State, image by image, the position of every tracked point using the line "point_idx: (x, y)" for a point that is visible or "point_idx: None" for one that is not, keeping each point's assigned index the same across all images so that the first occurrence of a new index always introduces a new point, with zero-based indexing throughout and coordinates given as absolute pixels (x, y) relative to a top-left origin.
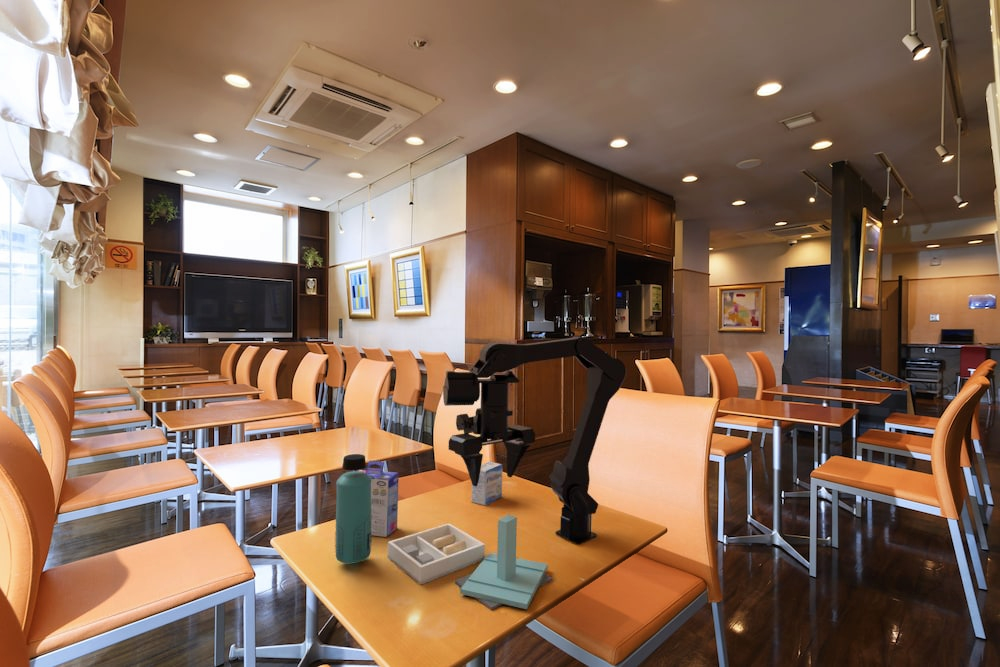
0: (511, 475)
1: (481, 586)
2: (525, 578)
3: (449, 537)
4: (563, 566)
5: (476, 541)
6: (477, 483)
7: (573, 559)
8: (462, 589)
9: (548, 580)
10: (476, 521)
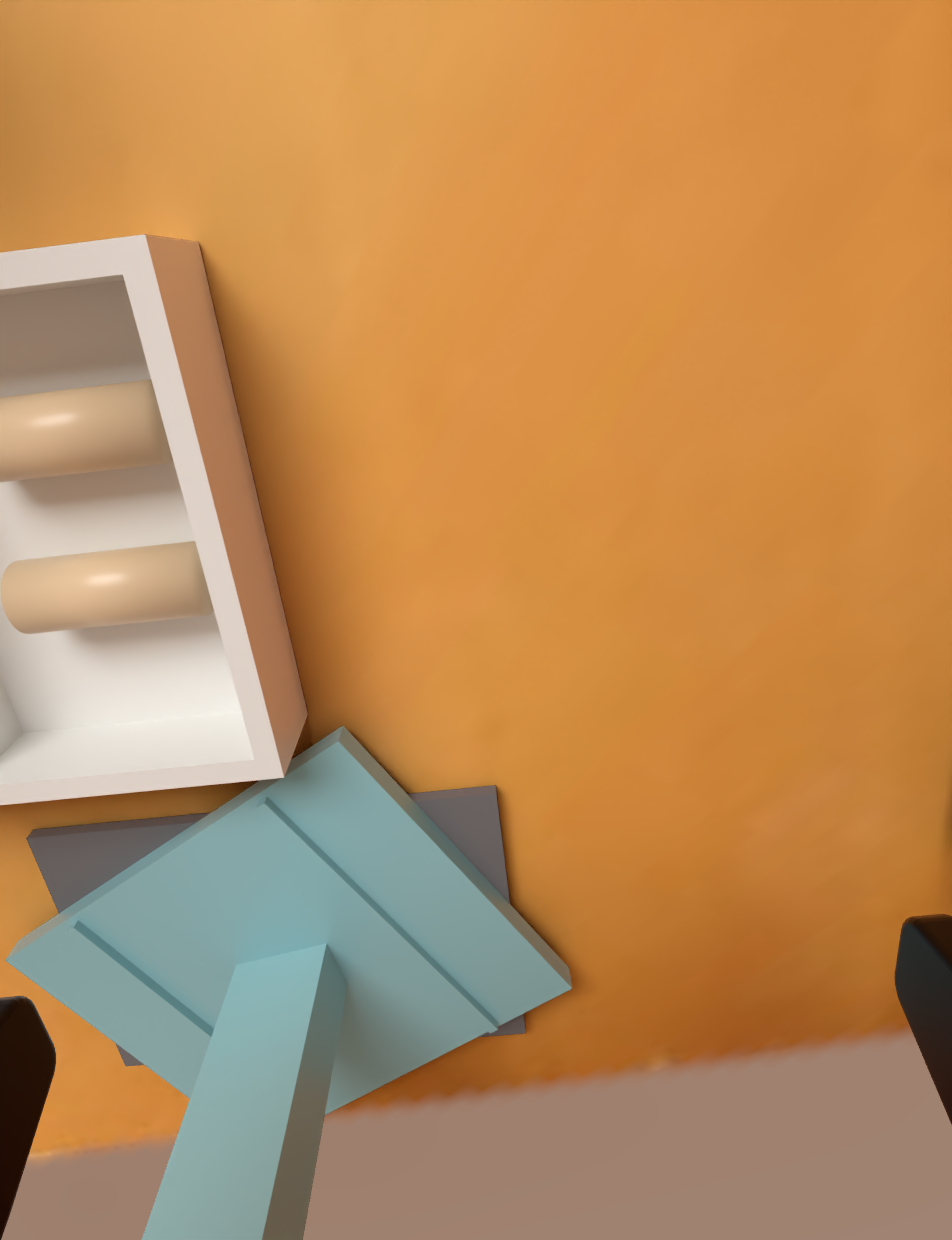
0: (922, 1040)
1: (121, 988)
2: (370, 1029)
3: (94, 460)
4: (674, 965)
5: (244, 714)
6: (28, 1128)
7: (782, 943)
8: (15, 967)
9: (494, 1032)
10: (636, 20)
